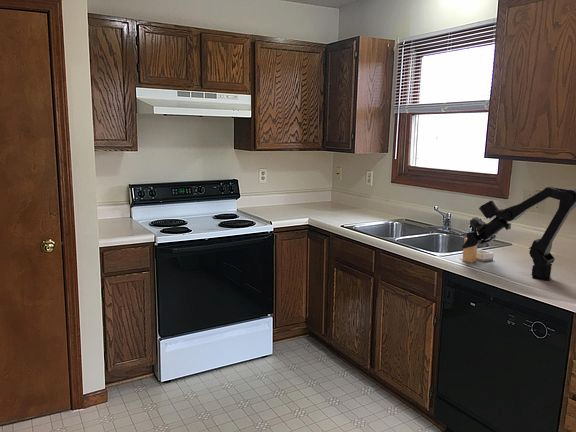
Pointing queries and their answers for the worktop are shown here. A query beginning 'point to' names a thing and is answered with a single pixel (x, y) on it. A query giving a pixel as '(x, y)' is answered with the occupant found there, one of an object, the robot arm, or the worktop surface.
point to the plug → (469, 253)
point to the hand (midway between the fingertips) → (467, 246)
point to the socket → (484, 255)
